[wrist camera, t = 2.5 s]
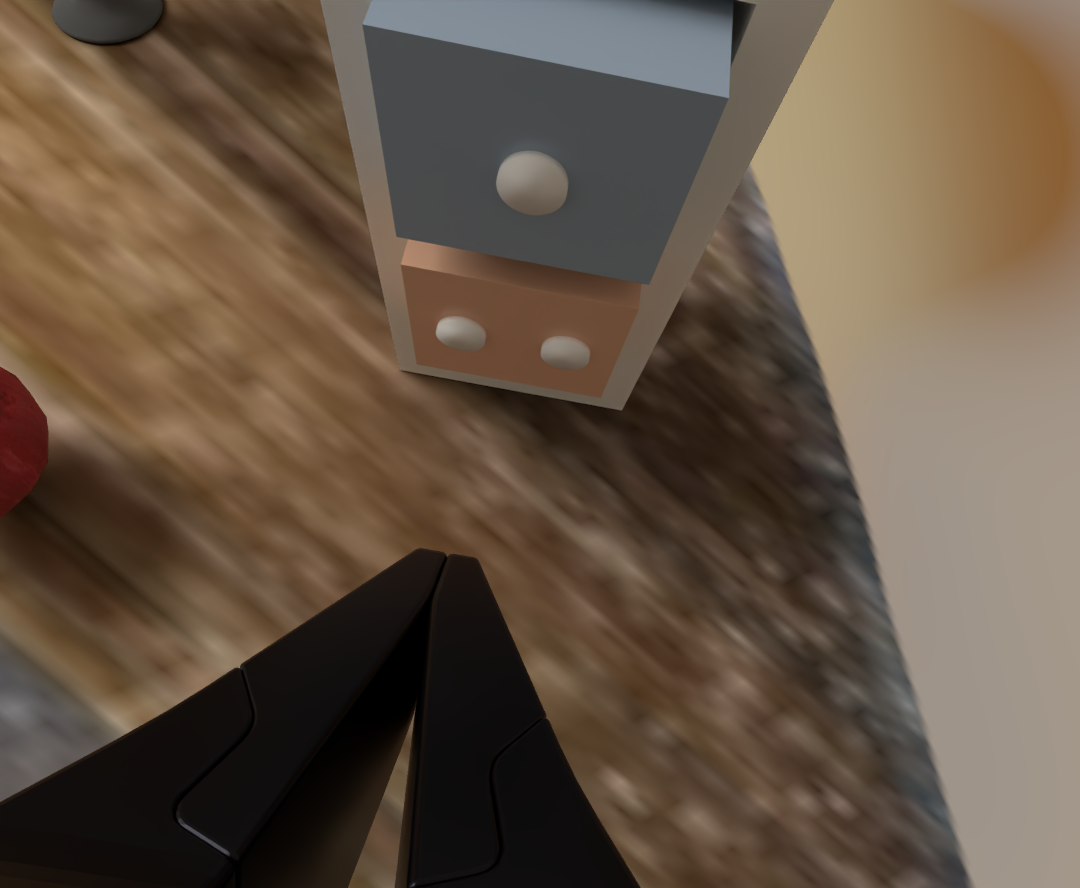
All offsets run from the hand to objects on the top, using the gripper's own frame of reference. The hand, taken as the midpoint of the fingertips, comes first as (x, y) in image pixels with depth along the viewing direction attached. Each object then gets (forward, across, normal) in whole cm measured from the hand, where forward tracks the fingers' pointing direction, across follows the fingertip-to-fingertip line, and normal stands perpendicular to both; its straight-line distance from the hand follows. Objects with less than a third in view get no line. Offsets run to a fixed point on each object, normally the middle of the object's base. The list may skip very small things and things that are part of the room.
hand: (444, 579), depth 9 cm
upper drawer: (+9, 0, -4) cm, 10 cm away
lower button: (+13, 0, 0) cm, 13 cm away
